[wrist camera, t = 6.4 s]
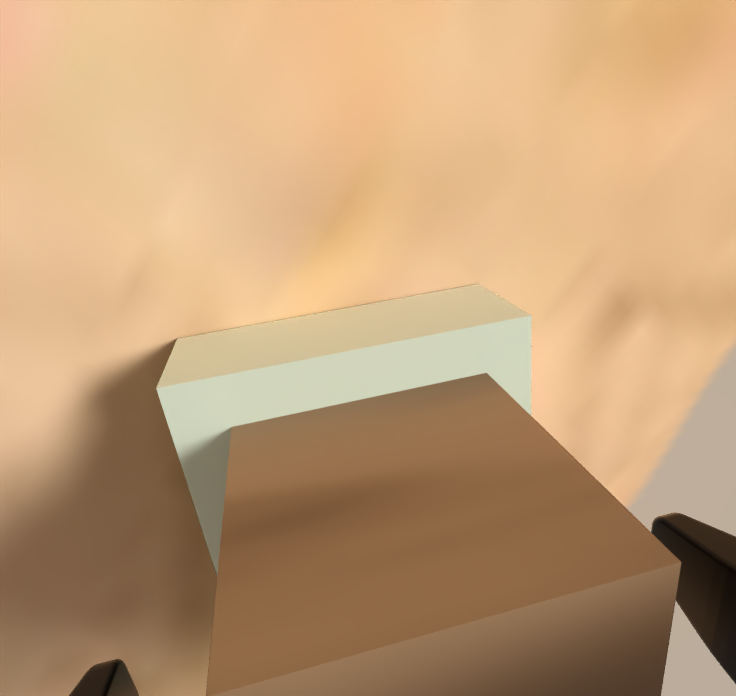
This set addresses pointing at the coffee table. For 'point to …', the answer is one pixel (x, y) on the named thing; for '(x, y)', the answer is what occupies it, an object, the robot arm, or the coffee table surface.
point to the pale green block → (329, 372)
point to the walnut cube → (431, 558)
